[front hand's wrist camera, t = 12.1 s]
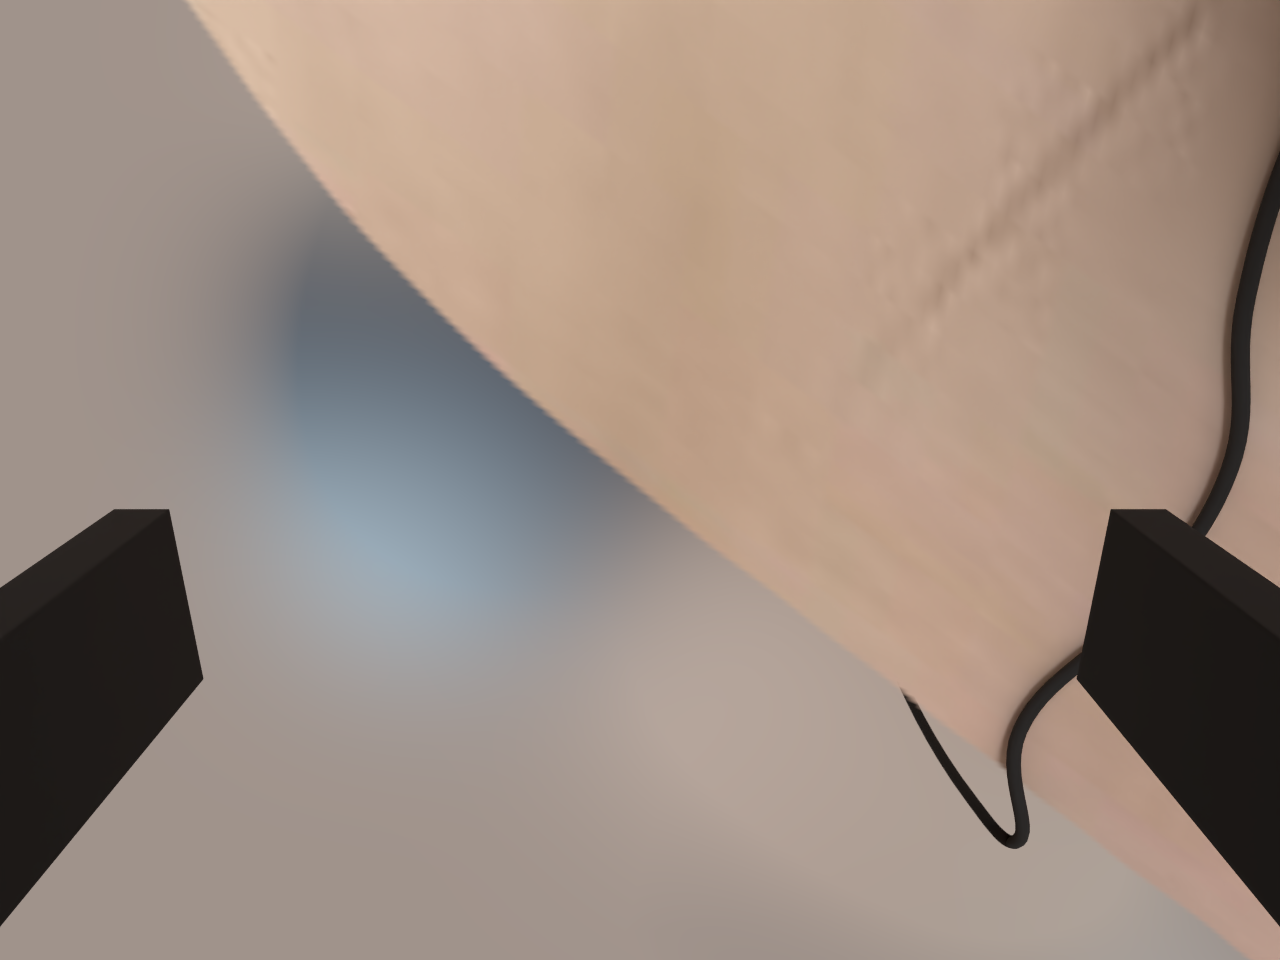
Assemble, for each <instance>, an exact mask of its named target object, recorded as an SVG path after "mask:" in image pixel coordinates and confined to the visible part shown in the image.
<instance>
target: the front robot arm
mask: <svg viewBox="0 0 1280 960" xmlns="http://www.w3.org/2000/svg"><path fill="white" fill-rule="evenodd" d="M1279 209H1280V152H1279V155H1278V157H1277V160H1276V163H1275V166H1274V168H1273V171H1272V174H1271V176H1270V179H1269V182H1268V185H1267V188H1266V191H1265V193H1264V196H1263V199H1262V202H1261V206H1260V209H1259V212H1258V215H1257V218H1256V222H1255V225H1254V229H1253V232H1252V236H1251V239H1250V243H1249V247H1248V251H1247V255H1246V259H1245V263H1244V267H1243V271H1242V275H1241V280H1240V284H1239V289H1238V293H1237V298H1236V304H1235V310H1234V315H1233V325H1232V337H1231V383H1232V416H1231V428H1230V435H1229V441H1228V445H1227V450H1226V454H1225V457H1224V460H1223V463H1222V466H1221V469H1220V472H1219V475H1218V477H1217V480H1216V482H1215V484H1214V487H1213V489H1212V491H1211V493H1210V495H1209V498H1208V500H1207V501H1206V503H1205V505H1204V507H1203V509H1202V511H1201V513H1200V514H1199V516H1198V518H1197V519H1196V521H1195V523H1194V524H1193V526H1192V527H1191V526H1189V525H1188V524H1186V523H1185V522H1183V521H1182V520H1181V519H1179V518H1178V517H1176V516H1175V515H1173V514H1172V513H1170V512H1169V511H1167V510H1166V509H1111V511H1110V516H1109V521H1108V526H1107V531H1106V536H1105V541H1104V546H1103V551H1102V556H1101V561H1100V566H1099V571H1098V576H1097V581H1096V586H1095V590H1094V595H1093V600H1092V605H1091V610H1090V615H1089V620H1088V625H1087V630H1086V635H1085V640H1084V645H1083V650H1082V653H1080V654H1079V655H1078V656H1077V657H1075V658H1074V659H1073V660H1072V661H1070V662H1069V663H1068V664H1067V665H1065V666H1064V667H1063V668H1062V669H1061V670H1059V671H1058V672H1057V673H1056V674H1055V675H1054V676H1053V677H1051V678H1050V679H1049V680H1048V681H1047V682H1046V683H1045V684H1044V685H1043V686H1042V687H1041V688H1040V689H1039V690H1038V691H1037V692H1036V693H1035V695H1034V696H1033V697H1032V698H1031V700H1030V701H1029V702H1028V703H1027V705H1026V706H1025V708H1024V709H1023V711H1022V712H1021V714H1020V715H1019V717H1018V719H1017V721H1016V723H1015V725H1014V727H1013V729H1012V732H1011V735H1010V738H1009V742H1008V748H1007V760H1006V766H1007V778H1008V786H1009V791H1010V797H1011V801H1012V806H1013V811H1014V817H1015V829H1016V830H1015V833H1014V835H1010V834H1008V833H1006V832H1005V831H1004V830H1003V829H1002V828H1001V827H1000V826H999V825H998V824H997V823H996V821H995V820H994V819H993V818H992V816H991V815H990V814H989V813H988V811H987V810H986V809H985V807H984V806H983V805H982V803H981V802H980V801H979V800H978V798H977V797H976V796H975V794H974V793H973V791H972V790H971V789H970V787H969V786H968V785H967V783H966V782H965V781H964V779H963V778H962V777H961V775H960V774H959V772H958V771H957V769H956V768H955V766H954V765H953V763H952V762H951V760H950V759H949V757H948V756H947V754H946V752H945V751H944V749H943V747H942V746H941V744H940V743H939V741H938V739H937V738H936V736H935V734H934V732H933V731H932V729H931V727H930V725H929V724H928V722H927V720H926V718H925V716H924V714H923V712H922V711H921V709H920V707H919V705H918V703H916V702H915V701H913V700H912V698H911V697H909V696H908V695H906V694H905V693H904V692H903V691H902V690H901V689H900V690H901V692H902V694H903V696H904V698H905V700H906V702H907V704H908V706H909V708H910V710H911V712H912V714H913V716H914V718H915V720H916V722H917V724H918V726H919V728H920V729H921V731H922V733H923V735H924V737H925V739H926V740H927V742H928V744H929V746H930V747H931V749H932V751H933V752H934V754H935V756H936V757H937V759H938V761H939V762H940V764H941V765H942V767H943V769H944V770H945V772H946V773H947V775H948V776H949V778H950V779H951V781H952V782H953V784H954V785H955V787H956V788H957V789H958V791H959V792H960V793H961V795H962V796H963V798H964V799H965V801H966V802H967V803H968V805H969V806H970V807H971V809H972V810H973V811H974V813H975V814H976V815H977V817H978V818H979V820H980V821H981V822H982V823H983V825H984V826H985V827H986V828H987V830H988V831H989V832H990V833H991V834H992V835H993V837H994V838H995V839H996V840H997V841H998V842H1000V843H1001V844H1002V845H1004V846H1005V847H1008V848H1012V849H1017V848H1020V847H1022V846H1023V845H1024V844H1025V843H1026V842H1027V840H1028V837H1029V833H1030V824H1029V816H1028V810H1027V805H1026V800H1025V795H1024V790H1023V783H1022V776H1021V753H1022V747H1023V743H1024V740H1025V737H1026V734H1027V732H1028V730H1029V728H1030V726H1031V724H1032V723H1033V721H1034V719H1035V718H1036V716H1037V715H1038V713H1039V712H1040V711H1041V709H1042V708H1043V707H1044V706H1045V704H1046V703H1047V702H1048V701H1049V700H1050V699H1051V698H1052V697H1053V696H1054V695H1055V694H1056V693H1057V692H1058V691H1059V690H1060V689H1061V688H1062V687H1063V686H1064V685H1066V684H1067V683H1068V682H1069V681H1070V680H1072V679H1073V678H1074V677H1075V676H1076V675H1077V680H1078V681H1079V682H1080V684H1081V685H1082V686H1083V687H1084V689H1085V690H1086V691H1087V692H1088V693H1089V695H1090V696H1091V697H1092V698H1093V700H1094V701H1095V702H1096V703H1097V704H1098V706H1099V707H1100V708H1101V709H1102V710H1103V712H1104V713H1105V714H1106V715H1107V717H1108V718H1109V719H1110V720H1111V721H1112V723H1113V724H1114V725H1115V726H1116V728H1117V729H1118V730H1119V731H1120V732H1121V734H1122V735H1123V736H1124V737H1125V738H1126V740H1127V741H1128V742H1129V743H1130V745H1131V746H1132V747H1133V748H1134V749H1135V751H1136V752H1137V753H1138V754H1139V756H1140V757H1141V758H1142V759H1143V760H1144V762H1145V763H1146V764H1147V765H1148V767H1149V768H1150V769H1151V770H1152V771H1153V773H1154V774H1155V775H1156V776H1157V777H1158V779H1159V780H1160V781H1161V782H1162V784H1163V785H1164V786H1165V787H1166V788H1167V790H1168V791H1169V792H1170V793H1171V795H1172V796H1173V797H1174V798H1175V799H1176V801H1177V802H1178V803H1179V804H1180V806H1181V807H1182V808H1183V809H1184V810H1185V812H1186V813H1187V814H1188V815H1189V816H1190V818H1191V819H1192V820H1193V821H1194V823H1195V824H1196V825H1197V826H1198V827H1199V829H1200V830H1201V831H1202V832H1203V834H1204V835H1205V836H1206V837H1207V838H1208V840H1209V841H1210V842H1211V843H1212V844H1213V846H1214V847H1215V848H1216V849H1217V851H1218V852H1219V853H1220V854H1221V855H1222V857H1223V858H1224V859H1225V860H1226V862H1227V863H1228V864H1229V865H1230V866H1231V868H1232V869H1233V870H1234V871H1235V873H1236V874H1237V875H1238V876H1239V877H1240V879H1241V880H1242V881H1243V882H1244V883H1245V885H1246V886H1247V887H1248V888H1249V890H1250V891H1251V892H1252V893H1253V894H1254V896H1255V897H1256V898H1257V899H1258V901H1259V902H1260V903H1261V904H1262V905H1263V907H1264V908H1265V909H1266V910H1267V912H1268V913H1269V914H1270V915H1271V916H1272V918H1273V919H1274V920H1275V921H1276V922H1277V924H1278V925H1279V926H1280V588H1279V587H1278V586H1276V585H1275V584H1273V583H1272V582H1271V581H1269V580H1268V579H1266V578H1265V577H1263V576H1262V575H1260V574H1259V573H1257V572H1256V571H1255V570H1253V569H1252V568H1250V567H1249V566H1247V565H1246V564H1244V563H1243V562H1241V561H1240V560H1239V559H1237V558H1236V557H1234V556H1233V555H1231V554H1230V553H1228V552H1227V551H1226V550H1224V549H1223V548H1221V547H1220V546H1218V545H1217V544H1215V543H1214V542H1212V541H1211V540H1210V539H1208V538H1207V537H1205V536H1206V534H1207V533H1208V531H1209V530H1210V528H1211V526H1212V525H1213V523H1214V521H1215V520H1216V518H1217V516H1218V514H1219V513H1220V511H1221V509H1222V507H1223V505H1224V503H1225V501H1226V499H1227V497H1228V495H1229V492H1230V490H1231V488H1232V486H1233V483H1234V481H1235V478H1236V476H1237V473H1238V470H1239V467H1240V464H1241V461H1242V458H1243V455H1244V451H1245V447H1246V442H1247V436H1248V430H1249V421H1250V400H1251V399H1250V337H1251V325H1252V316H1253V310H1254V305H1255V299H1256V295H1257V290H1258V286H1259V281H1260V277H1261V273H1262V269H1263V265H1264V261H1265V257H1266V253H1267V249H1268V245H1269V242H1270V238H1271V235H1272V231H1273V228H1274V225H1275V221H1276V218H1277V215H1278V212H1279ZM202 680H203V675H202V670H201V665H200V660H199V655H198V650H197V645H196V640H195V635H194V630H193V625H192V620H191V615H190V610H189V606H188V600H187V595H186V590H185V586H184V581H183V576H182V571H181V566H180V561H179V556H178V551H177V546H176V541H175V536H174V531H173V526H172V521H171V516H170V511H169V509H114V510H113V511H111V512H110V513H108V514H107V515H105V516H104V517H102V518H101V519H99V520H98V521H97V522H95V523H94V524H92V525H91V526H89V527H88V528H86V529H85V530H83V531H82V532H81V533H79V534H78V535H76V536H75V537H73V538H72V539H70V540H69V541H68V542H66V543H65V544H63V545H62V546H60V547H59V548H57V549H56V550H55V551H53V552H52V553H50V554H49V555H47V556H46V557H44V558H43V559H41V560H40V561H39V562H37V563H36V564H34V565H33V566H31V567H30V568H28V569H27V570H25V571H24V572H23V573H21V574H20V575H18V576H17V577H15V578H14V579H12V580H11V581H9V582H8V583H7V584H5V585H4V586H2V587H1V588H0V926H1V925H2V924H3V922H4V921H5V920H6V919H7V918H8V916H9V915H10V914H11V913H12V911H13V910H14V909H15V908H16V907H17V905H18V904H19V903H20V902H21V900H22V899H23V898H24V897H25V896H26V894H27V893H28V892H29V891H30V890H31V888H32V887H33V886H34V885H35V883H36V882H37V881H38V880H39V879H40V877H41V876H42V875H43V874H44V873H45V871H46V870H47V869H48V868H49V866H50V865H51V864H52V863H53V861H54V860H55V859H56V858H57V857H58V855H59V854H60V853H61V852H62V851H63V849H64V848H65V847H66V846H67V844H68V843H69V842H70V841H71V840H72V838H73V837H74V836H75V835H76V834H77V832H78V831H79V830H80V829H81V827H82V826H83V825H84V824H85V822H86V821H87V820H88V819H89V818H90V816H91V815H92V814H93V813H94V812H95V810H96V809H97V808H98V807H99V806H100V804H101V803H102V802H103V801H104V799H105V798H106V797H107V796H108V794H109V793H110V792H111V791H112V790H113V788H114V787H115V786H116V785H117V784H118V782H119V781H120V780H121V779H122V777H123V776H124V775H125V774H126V773H127V771H128V770H129V769H130V768H131V767H132V765H133V764H134V763H135V762H136V760H137V759H138V758H139V757H140V755H141V754H142V753H143V752H144V751H145V749H146V748H147V747H148V746H149V745H150V743H151V742H152V741H153V740H154V738H155V737H156V736H157V735H158V734H159V732H160V731H161V730H162V729H163V727H164V726H165V725H166V724H167V723H168V721H169V720H170V719H171V718H172V717H173V715H174V714H175V713H176V712H177V710H178V709H179V708H180V707H181V706H182V704H183V703H184V702H185V701H186V699H187V698H188V697H189V696H190V695H191V693H192V692H193V691H194V690H195V688H196V687H197V686H198V685H199V684H200V682H201V681H202Z"/></svg>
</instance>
